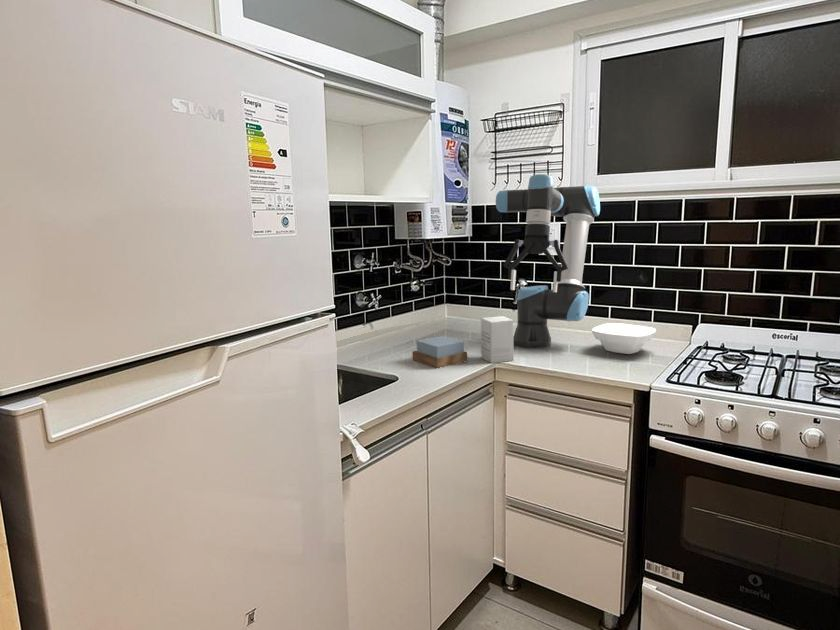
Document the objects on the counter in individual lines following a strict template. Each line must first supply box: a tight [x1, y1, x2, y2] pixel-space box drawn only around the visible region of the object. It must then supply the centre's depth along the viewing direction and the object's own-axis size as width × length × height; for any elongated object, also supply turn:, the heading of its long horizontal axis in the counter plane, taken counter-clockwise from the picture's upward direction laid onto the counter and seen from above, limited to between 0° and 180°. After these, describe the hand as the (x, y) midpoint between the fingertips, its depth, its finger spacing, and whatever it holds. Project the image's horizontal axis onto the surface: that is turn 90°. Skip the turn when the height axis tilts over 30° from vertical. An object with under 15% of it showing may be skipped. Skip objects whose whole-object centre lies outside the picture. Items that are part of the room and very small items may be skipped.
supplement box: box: [480, 315, 515, 364], centre depth 192 cm, size 9×9×15 cm
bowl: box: [591, 322, 657, 355], centre depth 199 cm, size 21×21×9 cm
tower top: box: [416, 335, 465, 358], centre depth 191 cm, size 12×12×4 cm
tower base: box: [411, 350, 468, 369], centre depth 192 cm, size 14×14×4 cm
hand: (533, 291), depth 171 cm, fingers open, 13 cm apart
